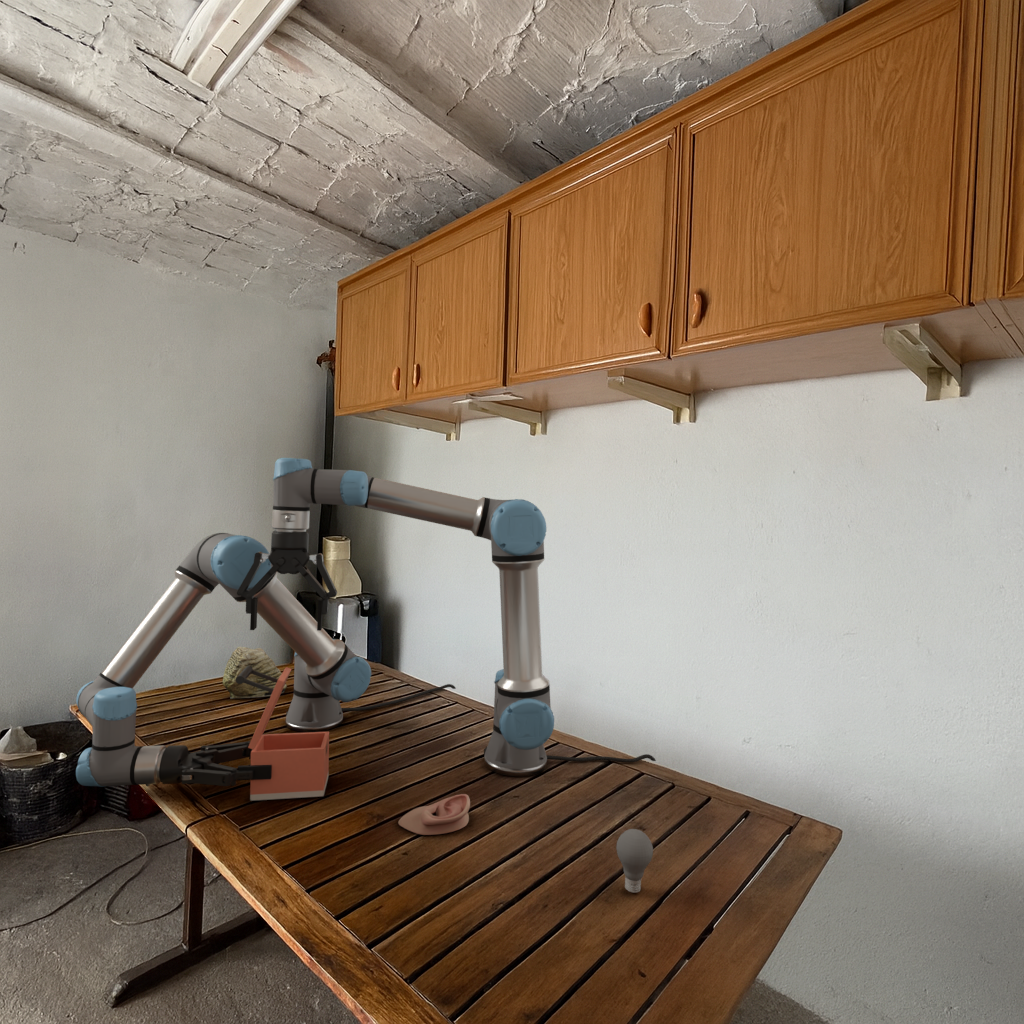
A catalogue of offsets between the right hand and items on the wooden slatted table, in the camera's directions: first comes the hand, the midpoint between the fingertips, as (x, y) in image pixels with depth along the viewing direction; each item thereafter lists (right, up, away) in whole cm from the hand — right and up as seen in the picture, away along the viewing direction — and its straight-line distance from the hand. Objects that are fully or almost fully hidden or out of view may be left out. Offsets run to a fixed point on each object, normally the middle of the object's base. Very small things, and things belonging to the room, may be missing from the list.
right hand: (286, 629), depth 136 cm
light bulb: (+69, -38, -30) cm, 84 cm away
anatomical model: (+33, -36, -11) cm, 50 cm away
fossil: (-32, -32, +62) cm, 77 cm away
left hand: (-2, -29, 0) cm, 29 cm away
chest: (+1, -35, +1) cm, 34 cm away
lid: (-3, -17, 0) cm, 17 cm away
